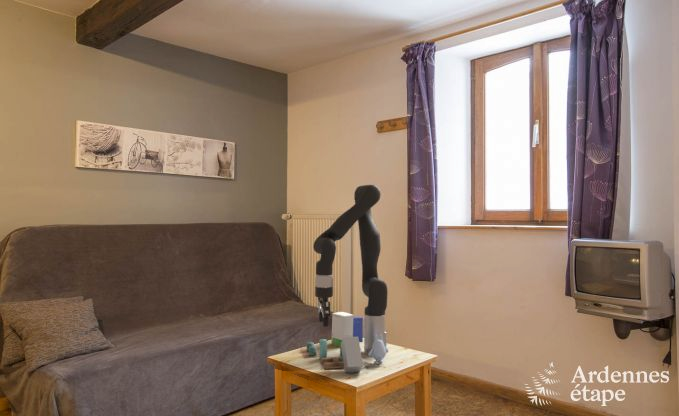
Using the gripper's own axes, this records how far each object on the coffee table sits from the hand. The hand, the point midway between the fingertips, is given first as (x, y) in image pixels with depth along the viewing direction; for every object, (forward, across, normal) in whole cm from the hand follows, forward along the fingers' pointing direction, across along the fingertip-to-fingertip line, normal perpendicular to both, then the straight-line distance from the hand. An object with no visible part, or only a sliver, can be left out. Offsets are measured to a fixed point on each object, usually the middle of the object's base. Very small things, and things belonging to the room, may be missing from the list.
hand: (323, 324), depth 197 cm
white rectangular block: (+11, +12, +9) cm, 18 cm away
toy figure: (+16, +7, +22) cm, 28 cm away
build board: (+16, +7, +4) cm, 18 cm away
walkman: (+16, -28, +21) cm, 39 cm away
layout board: (+16, -9, -3) cm, 19 cm away
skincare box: (+16, -20, +13) cm, 29 cm away
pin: (+16, 0, 0) cm, 16 cm away
